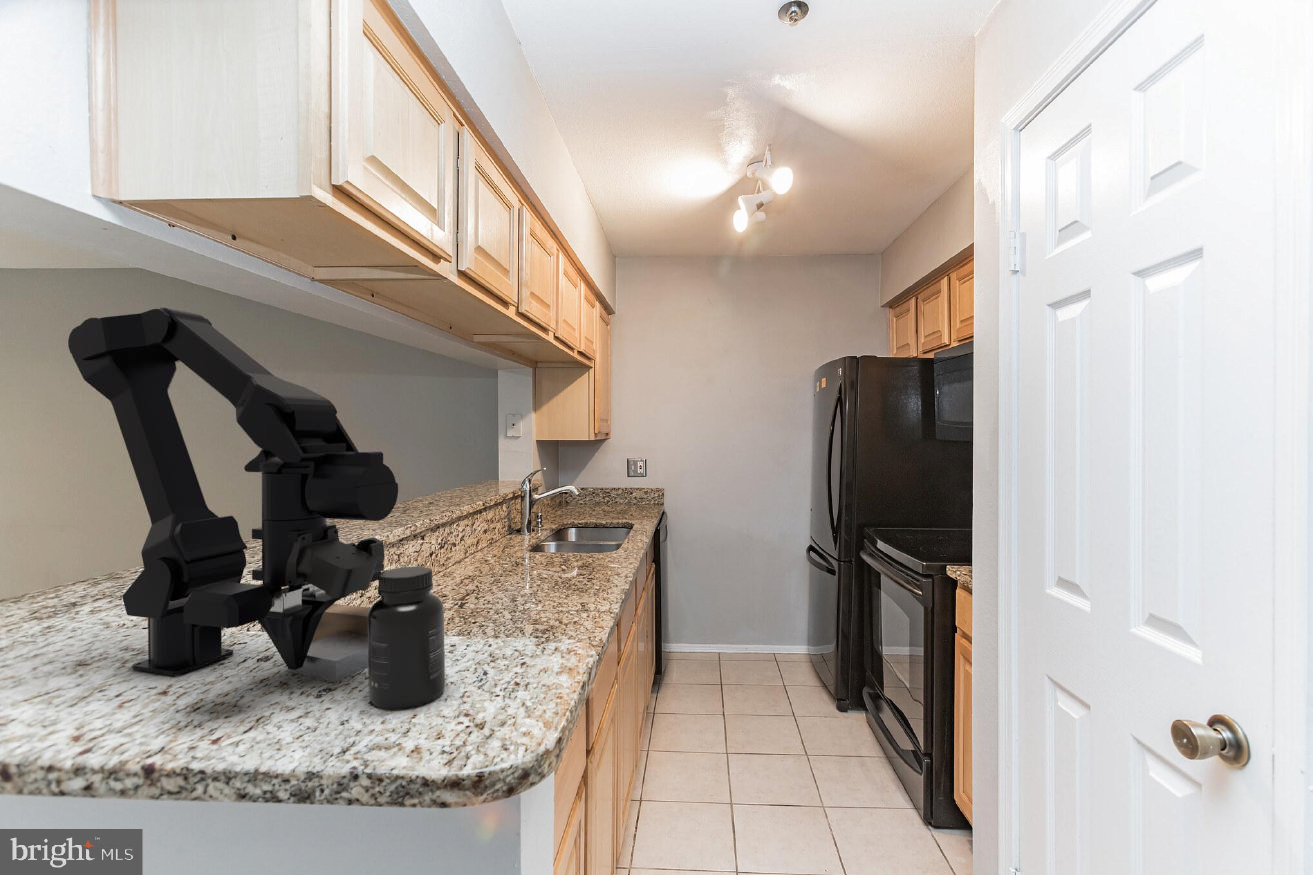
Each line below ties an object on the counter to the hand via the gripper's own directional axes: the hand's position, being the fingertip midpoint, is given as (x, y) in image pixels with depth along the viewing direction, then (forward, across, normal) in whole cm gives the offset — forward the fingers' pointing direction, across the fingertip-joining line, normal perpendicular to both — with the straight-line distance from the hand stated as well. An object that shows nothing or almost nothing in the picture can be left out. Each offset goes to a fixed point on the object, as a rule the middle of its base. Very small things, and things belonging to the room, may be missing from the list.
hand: (295, 668), depth 62 cm
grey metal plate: (+2, +4, -2) cm, 5 cm away
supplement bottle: (+1, 0, -14) cm, 14 cm away
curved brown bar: (+1, +10, 0) cm, 10 cm away
